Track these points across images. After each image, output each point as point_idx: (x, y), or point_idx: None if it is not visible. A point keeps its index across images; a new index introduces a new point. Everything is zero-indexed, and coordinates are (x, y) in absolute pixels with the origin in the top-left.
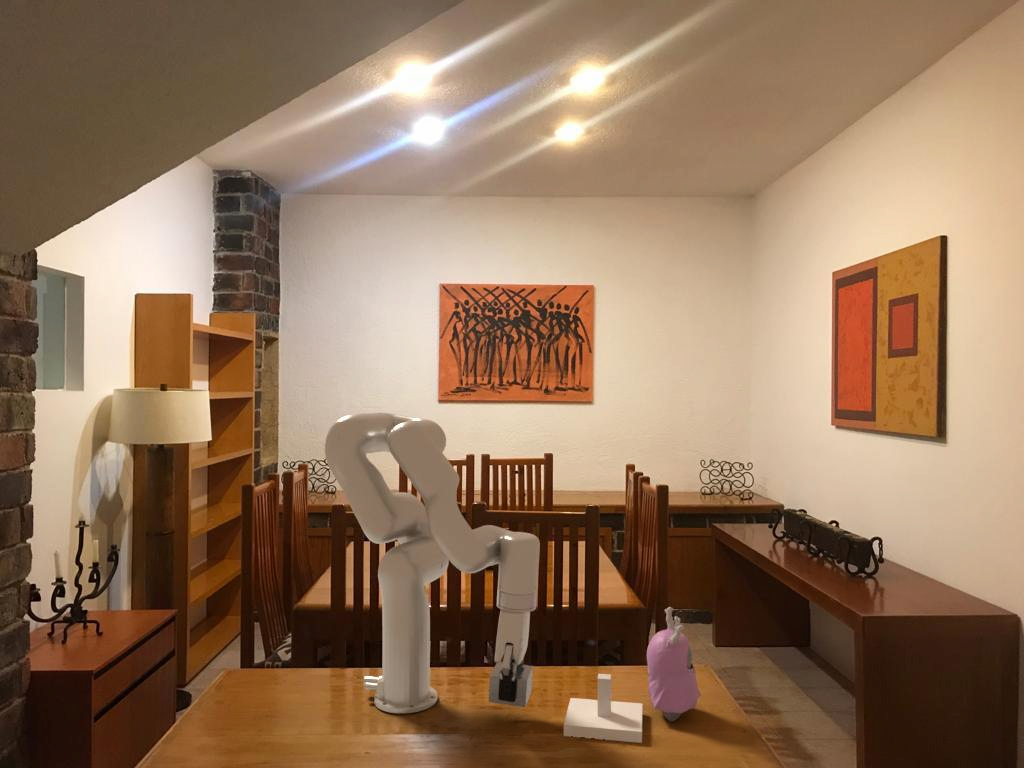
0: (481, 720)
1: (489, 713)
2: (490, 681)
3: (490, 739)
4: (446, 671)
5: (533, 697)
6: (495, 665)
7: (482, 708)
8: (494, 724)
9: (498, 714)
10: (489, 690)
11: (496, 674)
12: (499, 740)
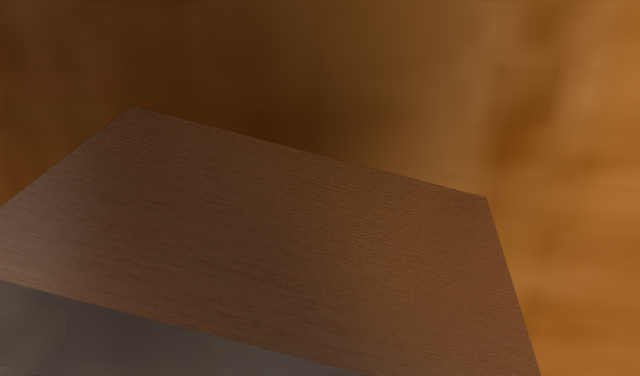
0: (312, 9)
1: (424, 72)
2: (3, 216)
3: (43, 65)
4: None
5: (621, 356)
6: (359, 373)
7: (521, 20)
8: (250, 100)
9: (400, 134)
10: (70, 155)
11: (1, 346)
12: (41, 119)
